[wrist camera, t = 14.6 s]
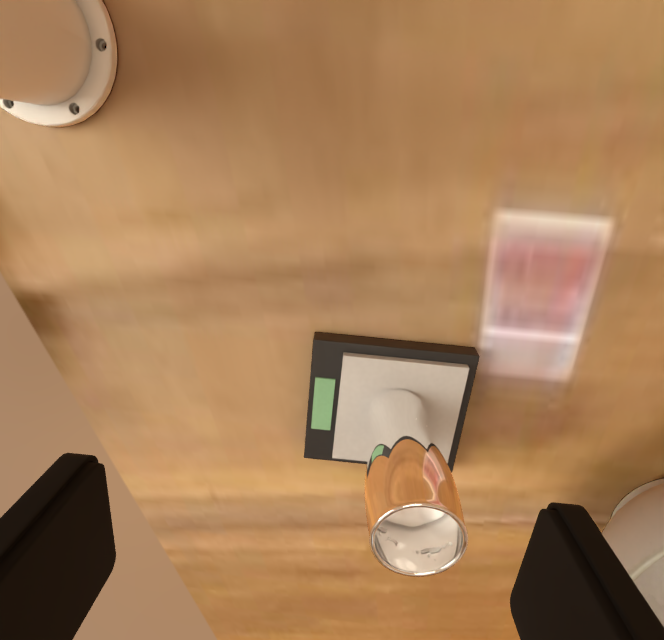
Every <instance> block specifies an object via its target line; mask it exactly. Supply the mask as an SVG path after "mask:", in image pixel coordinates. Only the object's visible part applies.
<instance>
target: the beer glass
mask: <svg viewBox="0 0 664 640" xmlns="http://www.w3.org/2000/svg"><path fill="white" fill-rule="evenodd" d="M366 421H367V425H368V428H369V431H370V433H371V437H372V442H371V448H370V453H369V457H368V462H367V467H366V475H365V508H366V517H367V525H368V531H369V543H370V548H371V551H372V553H373V555H374V557H375V558H376V559H377V561H378V562H379V563H380V564H381V565H383V566H384V567H385V568H387V569H389V570H391V571H393V572H395V573H398V574H401V575H405V576H412V577H424V576H431V575H435V574H438V573H441V572H443V571H445V570H447V569H449V568H451V567H452V566H454V565H455V564H456V563H457V562H458V561H459V560H460V559H461V558H462V556H463V555H464V553H465V551H466V548H467V544H468V534H467V530H466V527H465V523H464V517H463V512H462V507H461V503H460V499H459V495H458V491H457V488H456V484H455V482H454V479H453V476H452V473H451V471H450V469H449V467H448V465H447V463H446V461H445V459H444V457H443V455H442V453H441V452H440V450H439V448H438V447H437V445H436V443H435V442H434V440H433V439H432V437H431V435H430V433H429V430H428V412H427V408H426V405H425V404H424V402H423V401H422V399H421V398H420V397H418V396H417V395H416V394H414V393H412V392H410V391H407V390H401V389H394V390H388V391H385V392H383V393H381V394H379V395H378V396H376V397H375V398H374V399H373V400H372V401H371V403H370V404H369V406H368V409H367V412H366Z"/></svg>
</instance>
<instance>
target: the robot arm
mask: <svg viewBox="0 0 664 640" xmlns="http://www.w3.org/2000/svg"><path fill="white" fill-rule="evenodd" d="M106 44H107V47H106V50H105V45H106ZM116 68H117V43H116V38H115V33H114V28H113V25H112V22H111V19H110V17H109V14H108V11H107V9H106V7H105V5H104V3H103V1H102V0H0V107H1V108H2V109H3V110H5V111H7V112H8V113H10V114H12V115H13V116H15V117H17V118H19V119H22V120H24V121H27V122H29V123H32V124H37V125H42V126H51V127H62V126H70V125H74V124H77V123H79V122H82V121H84V120H86V119H87V118H89V117H90V116H92V115H93V114H95V112H96V111H97V110H98V109H99V108H100V107H101V106H102V105H103V104H104V102H105V100H106V99H107V97H108V95H109V93H110V92H111V89H112V86H113V83H114V80H115V75H116ZM78 108H79V109H80V111H79V110H78ZM115 558H116V551H115V543H114V535H113V528H112V520H111V512H110V505H109V497H108V489H107V482H106V474H105V468H104V465H103V464H100V463H98V460H97V458H96V457H95V456H93V455H84V454H83V455H82V454H73V453H66V454H63V455H62V456H61V457H59V459H58V460H57V461H56V462H55V463H54V464H53V465H52V466H51V467H50V468H49V469H48V470H47V471H46V472H45V473H44V474H43V475H42V476H41V477H40V478H39V479H38V480H37V481H36V482H35V483H34V484H33V485H32V486H31V487H30V488H29V489H28V490H27V491H26V492H25V493H24V494H23V495H22V496H21V498H20V499H19V500H18V501H17V502H16V503H15V504H14V505H13V506H12V507H11V508H10V509H9V510H8V511H7V512H6V513H5V514H4V515H3V516H2V517H1V518H0V640H72V639H73V638H74V636H75V634H76V632H77V631H78V629H79V627H80V626H81V624H82V622H83V620H84V618H85V617H86V615H87V613H88V612H89V610H90V608H91V606H92V605H93V603H94V601H95V600H96V598H97V596H98V594H99V593H100V591H101V589H102V587H103V586H104V584H105V582H106V581H107V579H108V577H109V575H110V574H111V572H112V569H113V567H114V563H115ZM510 607H511V613H512V616H513V619H514V622H515V625H516V628H517V631H518V633H519V636H520V639H521V640H664V627H663V625H662V624H661V622H660V621H659V619H658V618H657V616H656V615H655V613H654V612H653V610H652V609H651V607H650V606H649V604H648V603H647V601H646V600H645V598H644V597H643V595H642V594H641V592H640V591H639V589H638V588H637V586H636V585H635V583H634V582H633V580H632V579H631V577H630V576H629V574H628V573H627V571H626V570H625V568H624V567H623V565H622V564H621V562H620V561H619V559H618V558H617V556H616V555H615V553H614V552H613V550H612V548H611V547H610V545H609V544H608V542H607V541H606V539H605V538H604V536H603V535H602V533H601V532H600V530H599V529H598V527H597V526H596V524H595V523H594V521H593V520H592V518H591V517H590V515H589V514H588V512H587V511H586V510H585V509H584V507H582V506H580V505H573V504H563V503H550V504H549V505H548V507H547V509H542V510H541V511H540V513H539V515H538V518H537V521H536V524H535V527H534V529H533V532H532V535H531V538H530V541H529V544H528V547H527V550H526V553H525V556H524V558H523V561H522V564H521V567H520V570H519V573H518V576H517V579H516V582H515V584H514V587H513V590H512V593H511V597H510Z"/></svg>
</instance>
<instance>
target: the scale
mask: <svg viewBox="0 0 664 640" xmlns="http://www.w3.org/2000/svg"><path fill="white" fill-rule="evenodd" d="M479 357H480V356H479V354H478V353H477V351H476V350H475V348H473V347H463V346H453V345H443V344H433V343H423V342H412V341H402V340H392V339H382V338H372V337H362V336H352V335H342V334H332V333H322V332H315V335H314V340H313V351H312V364H311V376H310V389H309V402H308V414H307V427H306V439H305V452H304V458H312V459H322V460H332V461H342V462H351V463H361V464H367V462H368V457H369V453H370V448H371V442H372V437H371V433H370V431H369V428H368V425H367V421H366V412H367V409H368V406H369V404H370V403H371V401H372V400H373V399H374V398H375V397H376V396H378V395H379V394H381V393H383V392H385V391H388V390H394V389H401V390H407V391H410V392H412V393H414V394H416V395H417V396H418V397H420V398H421V399H422V401H423V402H424V404H425V405H426V408H427V412H428V430H429V433H430V435H431V437H432V439H433V440H434V442H435V443H436V445H437V447H438V448H439V450H440V452H441V453H442V455H443V457H444V459H445V461H446V463H447V465H448V467H449V469H450V471H451V473H452V470H453V466H454V462H455V458H456V453H457V449H458V445H459V441H460V437H461V432H462V428H463V424H464V420H465V416H466V411H467V407H468V403H469V399H470V395H471V390H472V386H473V382H474V378H475V374H476V369H477V365H478V361H479Z"/></svg>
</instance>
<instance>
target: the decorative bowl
mask: <svg viewBox="0 0 664 640" xmlns="http://www.w3.org/2000/svg"><path fill="white" fill-rule="evenodd" d="M602 535H603V536H604V538H605V539H606V541H607V542H608V544H609V545H610V547H611V548H612V550H613V552H614V553H615V555H616V556H617V558H618V559H619V561H620V562H621V564H622V565H623V567H624V568H625V570H626V571H627V573H628V574H629V576H630V577H631V579H632V580H633V582H634V583H635V585H636V586H637V588H638V589H639V591H640V592H641V594H642V595H643V597H644V598H645V600H646V601H647V603H648V604H649V606H650V607H651V609H652V610H653V612H654V613H655V615H656V616H657V618H658V619H659V621H660V622H661V624H662V625H663V627H664V478H663V479H659V480H655V481H652V482H649V483H647V484H644V485H642V486H640V487H638V488H637V489H635V490H633V491H632V492H631V493H629V494H628V495H627V496H626V497H624V498H623V499H622V500H621V501H620V503H619V504H618V505H617V507H616V508H615V510H614V512H613V514H612V516H611V519H610V521H609V522H608V524H607V525H606V527H605V528H604V530H603V532H602Z"/></svg>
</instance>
